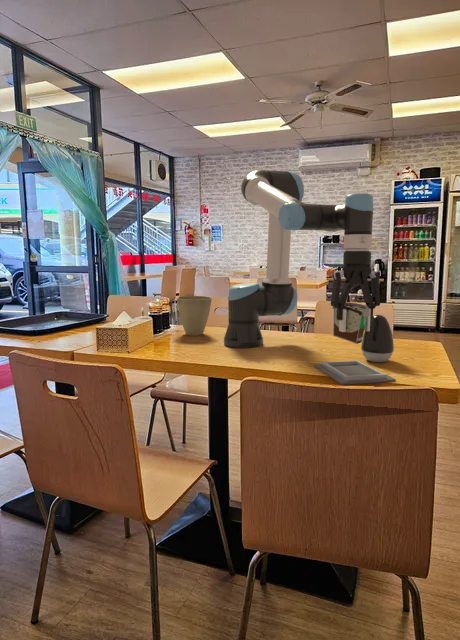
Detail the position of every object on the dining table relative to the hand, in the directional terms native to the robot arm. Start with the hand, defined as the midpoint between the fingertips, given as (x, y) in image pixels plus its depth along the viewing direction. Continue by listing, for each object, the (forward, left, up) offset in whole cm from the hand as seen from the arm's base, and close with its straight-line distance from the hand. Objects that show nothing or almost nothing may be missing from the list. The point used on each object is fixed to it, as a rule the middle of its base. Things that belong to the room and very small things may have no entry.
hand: (354, 330), depth 129 cm
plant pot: (-72, -38, -13) cm, 83 cm away
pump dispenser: (-13, +15, -13) cm, 24 cm away
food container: (-1, 0, -3) cm, 3 cm away
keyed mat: (0, 0, -13) cm, 13 cm away
